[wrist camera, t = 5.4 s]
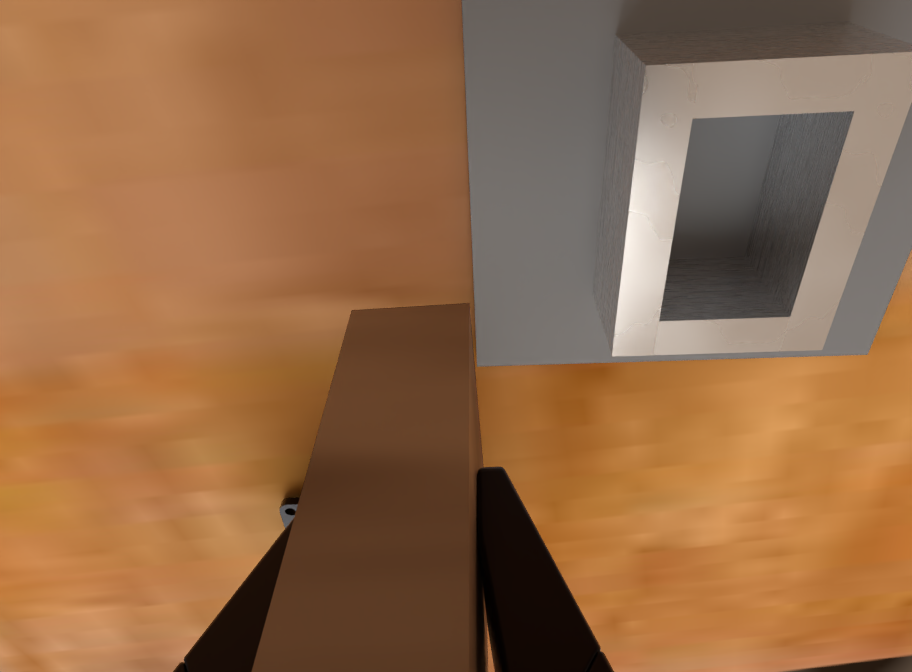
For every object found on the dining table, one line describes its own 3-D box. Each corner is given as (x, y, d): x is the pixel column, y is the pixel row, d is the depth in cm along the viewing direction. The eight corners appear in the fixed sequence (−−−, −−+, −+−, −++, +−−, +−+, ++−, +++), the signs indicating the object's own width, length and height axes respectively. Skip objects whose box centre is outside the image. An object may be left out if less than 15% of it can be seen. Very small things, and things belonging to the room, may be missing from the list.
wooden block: (483, 466, 13) (494, 929, 7) (387, 470, 13) (321, 929, 7) (469, 303, 10) (467, 798, 5) (351, 310, 11) (215, 800, 5)
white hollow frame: (774, 286, 21) (821, 350, 18) (592, 293, 21) (612, 356, 18) (848, 22, 16) (930, 50, 13) (615, 34, 16) (645, 65, 14)
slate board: (856, 341, 23) (867, 354, 22) (476, 353, 24) (477, 366, 23) (1044, -132, 15) (1070, -133, 14) (458, -95, 16) (457, -94, 15)
